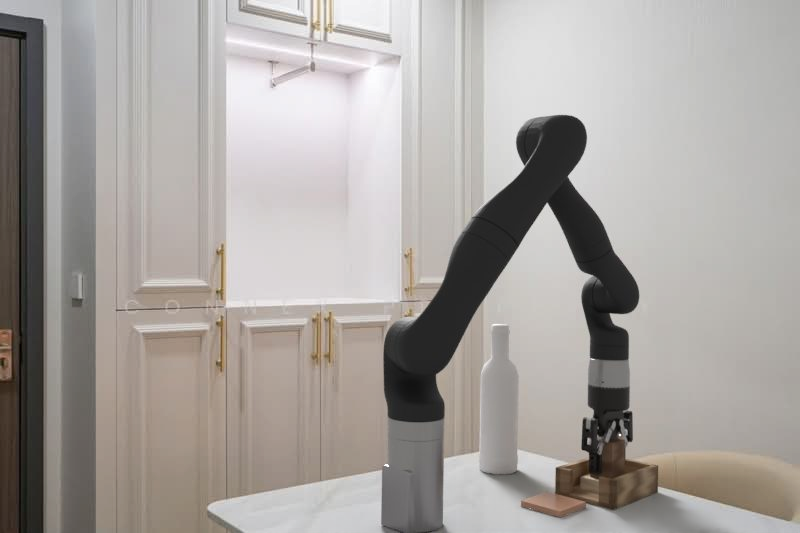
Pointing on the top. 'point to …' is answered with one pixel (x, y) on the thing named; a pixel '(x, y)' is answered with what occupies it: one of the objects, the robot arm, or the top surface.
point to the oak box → (607, 484)
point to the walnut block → (612, 459)
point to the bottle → (499, 407)
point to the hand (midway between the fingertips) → (607, 470)
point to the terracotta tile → (553, 504)
